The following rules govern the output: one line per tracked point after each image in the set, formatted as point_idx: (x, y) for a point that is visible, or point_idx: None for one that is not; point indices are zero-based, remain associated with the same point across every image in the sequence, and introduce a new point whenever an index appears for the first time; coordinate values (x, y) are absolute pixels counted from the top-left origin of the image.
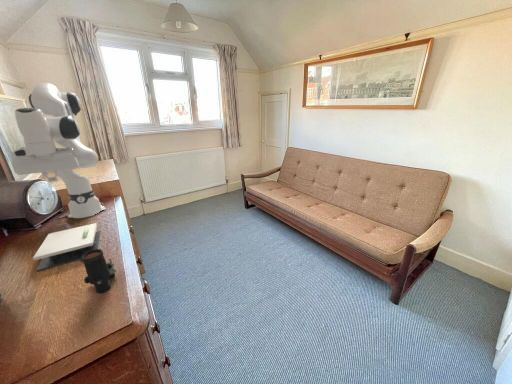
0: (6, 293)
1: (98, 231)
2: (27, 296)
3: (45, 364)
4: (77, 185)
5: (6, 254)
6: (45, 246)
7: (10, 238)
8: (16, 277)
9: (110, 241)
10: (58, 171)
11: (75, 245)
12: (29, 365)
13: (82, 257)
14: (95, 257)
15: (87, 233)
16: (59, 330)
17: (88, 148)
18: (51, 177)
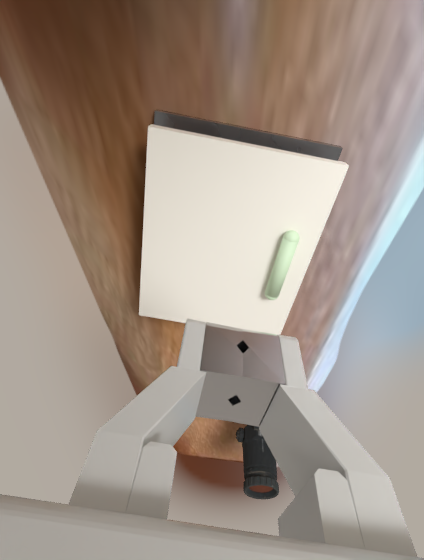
0: (109, 325)
1: (333, 148)
2: (148, 356)
3: (189, 454)
4: None
5: (2, 70)
6: (157, 264)
7: None
8: (106, 278)
9: (332, 261)
10: (381, 523)
11: (237, 323)
12: (176, 448)
13: (245, 491)
14: (263, 497)
15: (283, 282)
16: (199, 433)
17: None
18: (221, 395)
